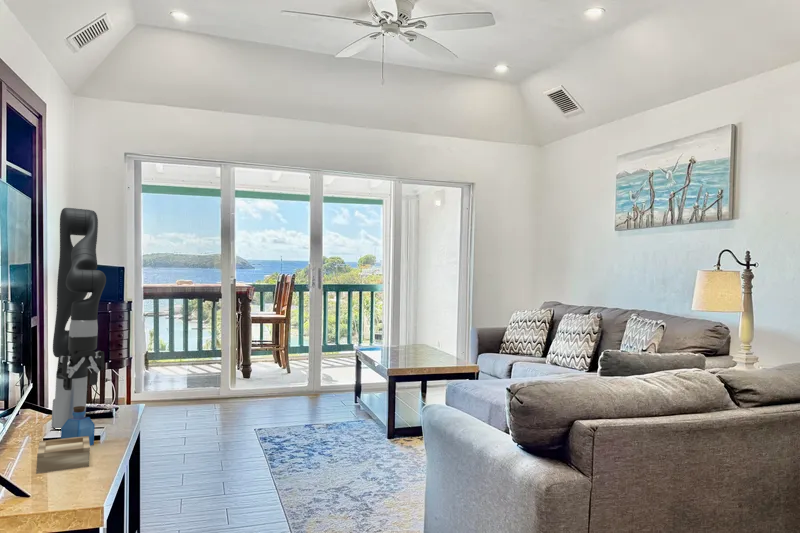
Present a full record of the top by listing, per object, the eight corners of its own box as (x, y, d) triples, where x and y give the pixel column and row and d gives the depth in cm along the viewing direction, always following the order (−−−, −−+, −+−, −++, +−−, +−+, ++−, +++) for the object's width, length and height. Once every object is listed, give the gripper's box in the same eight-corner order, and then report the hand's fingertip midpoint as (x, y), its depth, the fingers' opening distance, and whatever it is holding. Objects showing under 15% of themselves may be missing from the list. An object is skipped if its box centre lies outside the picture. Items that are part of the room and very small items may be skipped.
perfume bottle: (77, 450, 158) (79, 410, 158) (60, 448, 159) (62, 408, 159) (93, 444, 164) (95, 405, 164) (76, 442, 165) (78, 404, 165)
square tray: (38, 459, 149) (39, 441, 149) (87, 453, 155) (88, 435, 155) (36, 473, 139) (37, 453, 139) (88, 466, 145) (89, 447, 145)
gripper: (94, 331, 169) (91, 382, 169) (52, 335, 156) (49, 390, 155) (112, 333, 167) (109, 384, 166) (71, 337, 153) (68, 393, 153)
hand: (80, 387), depth 161 cm, fingers open, 8 cm apart
